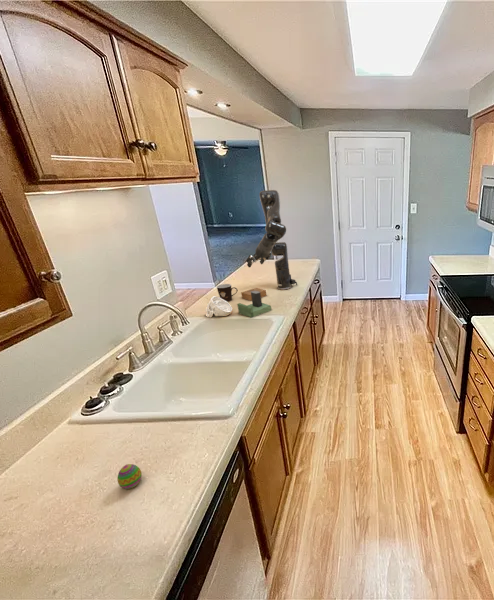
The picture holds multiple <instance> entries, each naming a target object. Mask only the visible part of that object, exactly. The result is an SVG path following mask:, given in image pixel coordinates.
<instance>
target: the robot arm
mask: <svg viewBox="0 0 494 600" xmlns="http://www.w3.org/2000/svg"><path fill="white" fill-rule="evenodd" d="M259 200H260V204H261V209H262V212H263V215H264V221H265V226H264V228H265V233H264V235H263V236H262V238H261V240H260V241H259V242H258V244H257V246H256V248H255V252H254V254H253V255H252V254H249V255H248V257H247V258H246V260H245V262H246V263H247V264H246V266H247V267H248V268H251V267H252V265H253V264H254V263H257V262H258V261H259V263H260V265H264V263H265V262H266V261H267V260H269V259H270V258H271V256H274V257H281V258H279V259H276V260H275V261H274V267H275V276H276V283H277V289H278V290H280V291H281V290H282V291H285V290H290V289H291V288H293V285H296V286H298V282H297V281H296V279H293V278H292V274H290V273H291V272H290V265H289V264H290V263H289V255H288V254H289V253H288V244H287V242H284V241H280V240H282V238H283V237H284V236H285V235H286V234H287V227H286V226H285V224H283V223H282V218H281V199H280V194H279V192H278V190H276V189H267V190H261V191H260V192H259ZM279 241H280V242H279Z"/></svg>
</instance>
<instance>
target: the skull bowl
mask: <svg viewBox="0 0 494 600" xmlns="http://www.w3.org/2000/svg"><path fill="white" fill-rule="evenodd" d="M233 309H234V308H233V307H232V305H231V304H230V303H229V302H227V301H225V300H223V299H222V298H220V296H215V295H214V296H212V297H211V298H210V299H209V300H208V302H207V305H206V308H205V309H204V311H205V317H207V318H212V317H213V316H215V317H227V316H228V315H230V314H231V313H232V312H233Z"/></svg>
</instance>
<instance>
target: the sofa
mask: <svg viewBox="0 0 494 600" xmlns="http://www.w3.org/2000/svg"><path fill="white" fill-rule="evenodd" d="M236 305H237V311H238V314H239V315H243V316H246V317H248V318H255V317H257V316H259V315H262V314H265V313H268V312H270V311H272V305H271V304H267V303H264V302H262V306H261V307H255V306H253V304H252V303H250V304H243V303H240V302H239V303H237V304H236Z"/></svg>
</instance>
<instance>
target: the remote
mask: <svg viewBox="0 0 494 600" xmlns="http://www.w3.org/2000/svg"><path fill="white" fill-rule="evenodd" d="M251 297H252V301H251V304H253V306H255V307H261V306H262V303H263V302H262V297H261V294H260V292H259V291H252V292H251Z"/></svg>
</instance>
